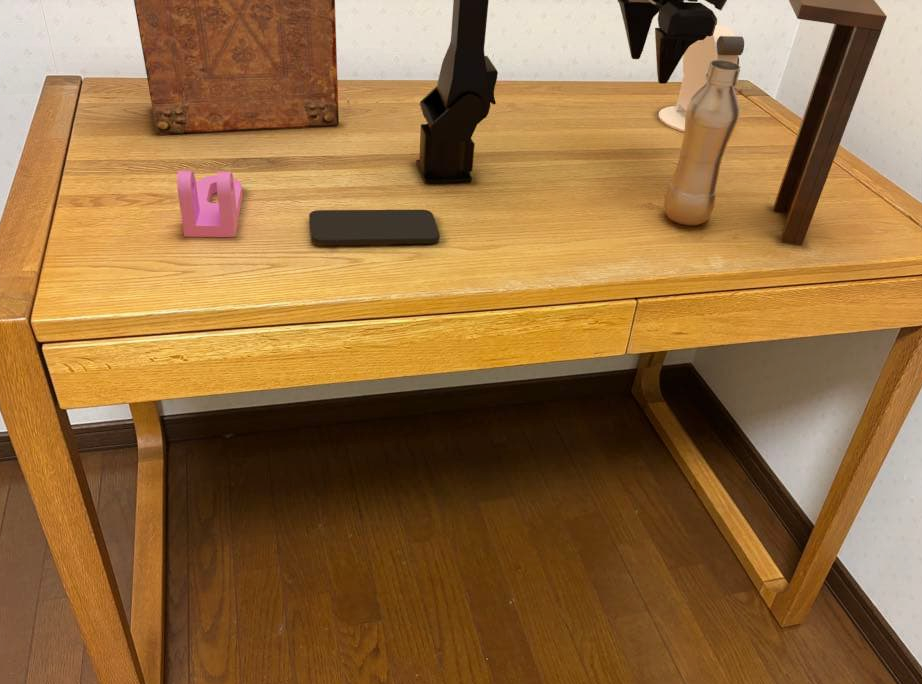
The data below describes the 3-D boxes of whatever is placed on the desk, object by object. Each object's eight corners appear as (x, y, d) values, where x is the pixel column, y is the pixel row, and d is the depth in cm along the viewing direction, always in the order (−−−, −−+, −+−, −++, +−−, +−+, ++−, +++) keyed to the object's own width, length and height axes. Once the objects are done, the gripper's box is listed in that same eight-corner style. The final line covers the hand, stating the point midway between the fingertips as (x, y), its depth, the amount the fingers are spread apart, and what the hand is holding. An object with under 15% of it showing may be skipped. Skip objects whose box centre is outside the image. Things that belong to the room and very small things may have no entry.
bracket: (235, 237, 97) (228, 180, 93) (184, 236, 96) (175, 179, 92) (244, 186, 107) (238, 133, 103) (198, 185, 106) (191, 131, 102)
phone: (441, 238, 100) (311, 240, 96) (440, 244, 100) (312, 246, 97) (431, 209, 105) (308, 209, 102) (431, 215, 106) (308, 216, 102)
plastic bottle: (714, 216, 113) (758, 63, 100) (702, 237, 108) (746, 79, 95) (668, 203, 115) (705, 51, 102) (654, 223, 110) (691, 66, 97)
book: (326, 102, 131) (318, -123, 111) (339, 126, 124) (333, -109, 105) (151, 110, 122) (111, -132, 103) (155, 135, 116) (113, -118, 97)
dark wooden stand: (730, 234, 109) (801, 4, 92) (725, 200, 117) (790, -18, 99) (802, 245, 109) (887, 16, 91) (792, 210, 117) (869, -7, 99)
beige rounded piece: (740, 136, 136) (769, 39, 126) (676, 137, 133) (700, 38, 124) (708, 107, 145) (733, 15, 135) (648, 107, 142) (668, 13, 132)
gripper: (772, -37, 98) (734, 97, 108) (702, -74, 112) (674, 48, 122) (686, -42, 95) (655, 96, 105) (625, -79, 109) (602, 47, 119)
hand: (648, 70), depth 113 cm, fingers open, 9 cm apart
